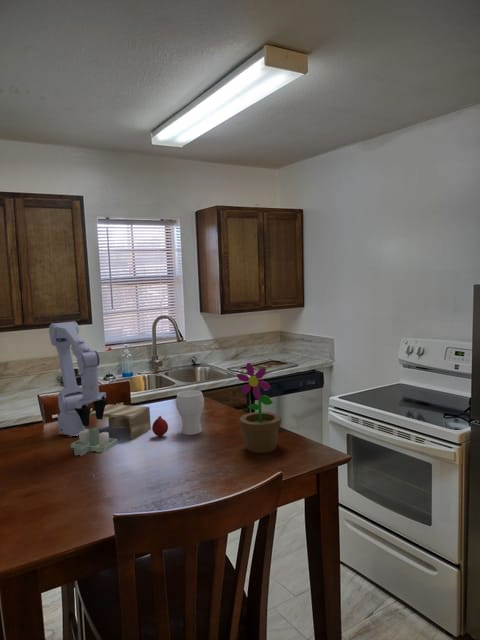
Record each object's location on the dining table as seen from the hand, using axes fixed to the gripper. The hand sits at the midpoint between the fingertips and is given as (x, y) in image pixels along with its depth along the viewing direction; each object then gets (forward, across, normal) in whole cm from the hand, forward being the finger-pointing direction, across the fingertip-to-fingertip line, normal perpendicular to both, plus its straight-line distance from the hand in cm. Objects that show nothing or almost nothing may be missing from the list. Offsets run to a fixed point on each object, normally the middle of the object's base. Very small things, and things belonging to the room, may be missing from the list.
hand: (92, 422), depth 164 cm
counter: (+9, +15, -1) cm, 17 cm away
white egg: (+8, 0, -4) cm, 9 cm away
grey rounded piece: (+8, 0, +4) cm, 9 cm away
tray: (+9, -2, 0) cm, 9 cm away
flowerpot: (+9, +13, -59) cm, 61 cm away
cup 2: (+9, +22, -28) cm, 37 cm away
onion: (+9, +14, -19) cm, 25 cm away
